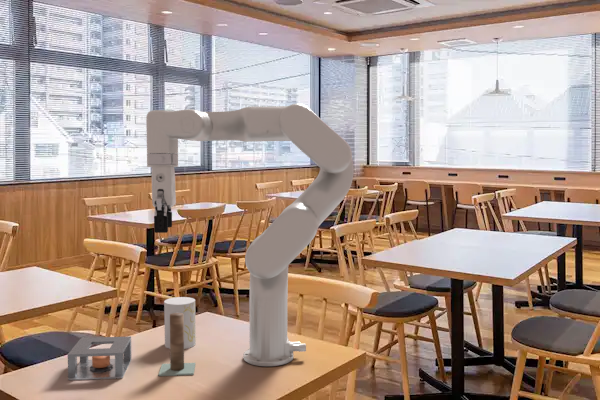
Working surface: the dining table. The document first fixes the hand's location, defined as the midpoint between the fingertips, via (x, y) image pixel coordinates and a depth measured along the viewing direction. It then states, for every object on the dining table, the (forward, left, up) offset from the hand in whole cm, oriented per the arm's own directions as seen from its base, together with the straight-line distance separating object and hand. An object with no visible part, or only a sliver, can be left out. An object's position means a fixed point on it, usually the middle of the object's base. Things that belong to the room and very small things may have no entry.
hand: (163, 229), depth 148 cm
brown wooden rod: (-4, +10, -32) cm, 34 cm away
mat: (-4, +10, -32) cm, 34 cm away
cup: (-3, -9, -33) cm, 34 cm away
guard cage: (+14, +8, -32) cm, 36 cm away
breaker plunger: (+14, +8, -31) cm, 35 cm away
